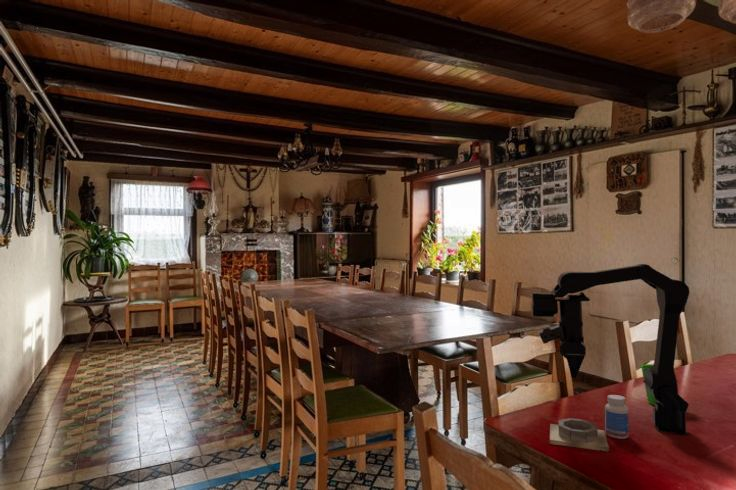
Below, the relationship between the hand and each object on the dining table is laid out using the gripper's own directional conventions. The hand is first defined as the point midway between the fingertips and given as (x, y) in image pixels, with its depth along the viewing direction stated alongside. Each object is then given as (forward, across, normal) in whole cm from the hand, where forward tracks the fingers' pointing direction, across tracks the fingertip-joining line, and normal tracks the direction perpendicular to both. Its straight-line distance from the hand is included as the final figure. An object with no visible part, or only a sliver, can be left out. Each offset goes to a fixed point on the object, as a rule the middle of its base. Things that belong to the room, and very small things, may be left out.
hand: (573, 373), depth 130 cm
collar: (+13, +12, 0) cm, 18 cm away
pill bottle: (+14, +6, +10) cm, 18 cm away
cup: (+14, -25, +24) cm, 37 cm away
